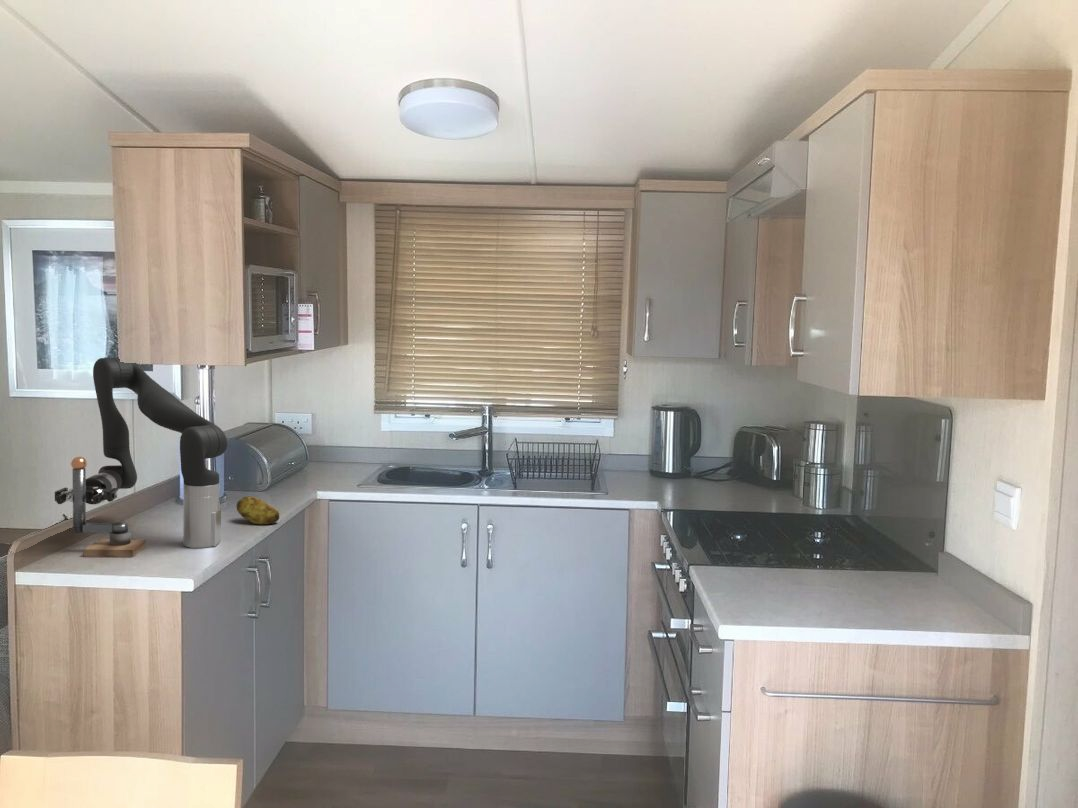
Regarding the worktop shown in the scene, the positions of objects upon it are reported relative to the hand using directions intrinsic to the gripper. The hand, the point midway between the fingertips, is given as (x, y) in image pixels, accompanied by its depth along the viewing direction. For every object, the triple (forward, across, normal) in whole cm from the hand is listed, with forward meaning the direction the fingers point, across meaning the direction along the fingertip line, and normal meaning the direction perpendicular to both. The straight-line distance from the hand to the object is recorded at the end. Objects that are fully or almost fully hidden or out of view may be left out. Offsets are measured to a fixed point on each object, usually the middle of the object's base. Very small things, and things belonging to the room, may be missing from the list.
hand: (76, 500), depth 215 cm
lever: (-2, +5, +9) cm, 10 cm away
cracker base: (-1, +9, +14) cm, 17 cm away
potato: (-33, +40, +14) cm, 54 cm away
